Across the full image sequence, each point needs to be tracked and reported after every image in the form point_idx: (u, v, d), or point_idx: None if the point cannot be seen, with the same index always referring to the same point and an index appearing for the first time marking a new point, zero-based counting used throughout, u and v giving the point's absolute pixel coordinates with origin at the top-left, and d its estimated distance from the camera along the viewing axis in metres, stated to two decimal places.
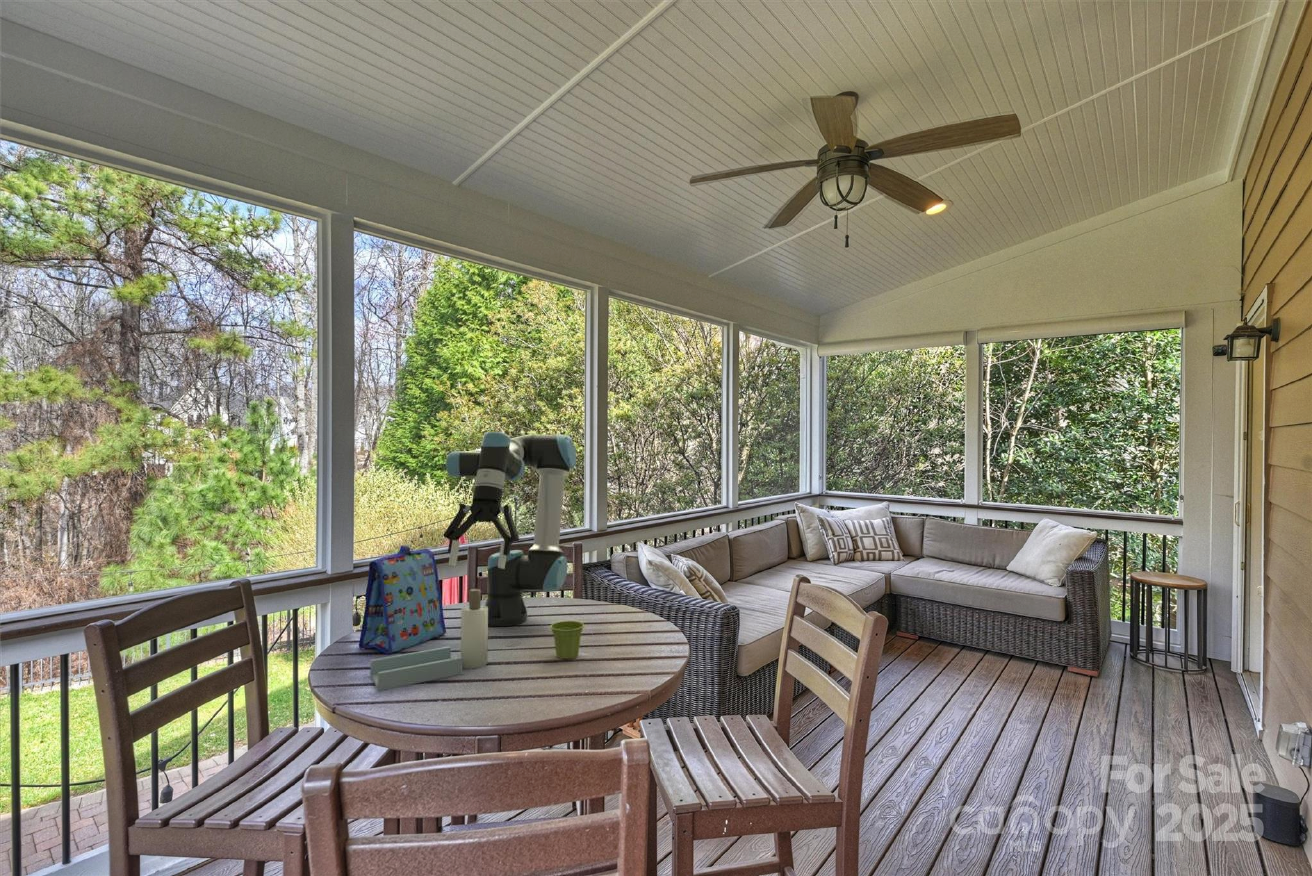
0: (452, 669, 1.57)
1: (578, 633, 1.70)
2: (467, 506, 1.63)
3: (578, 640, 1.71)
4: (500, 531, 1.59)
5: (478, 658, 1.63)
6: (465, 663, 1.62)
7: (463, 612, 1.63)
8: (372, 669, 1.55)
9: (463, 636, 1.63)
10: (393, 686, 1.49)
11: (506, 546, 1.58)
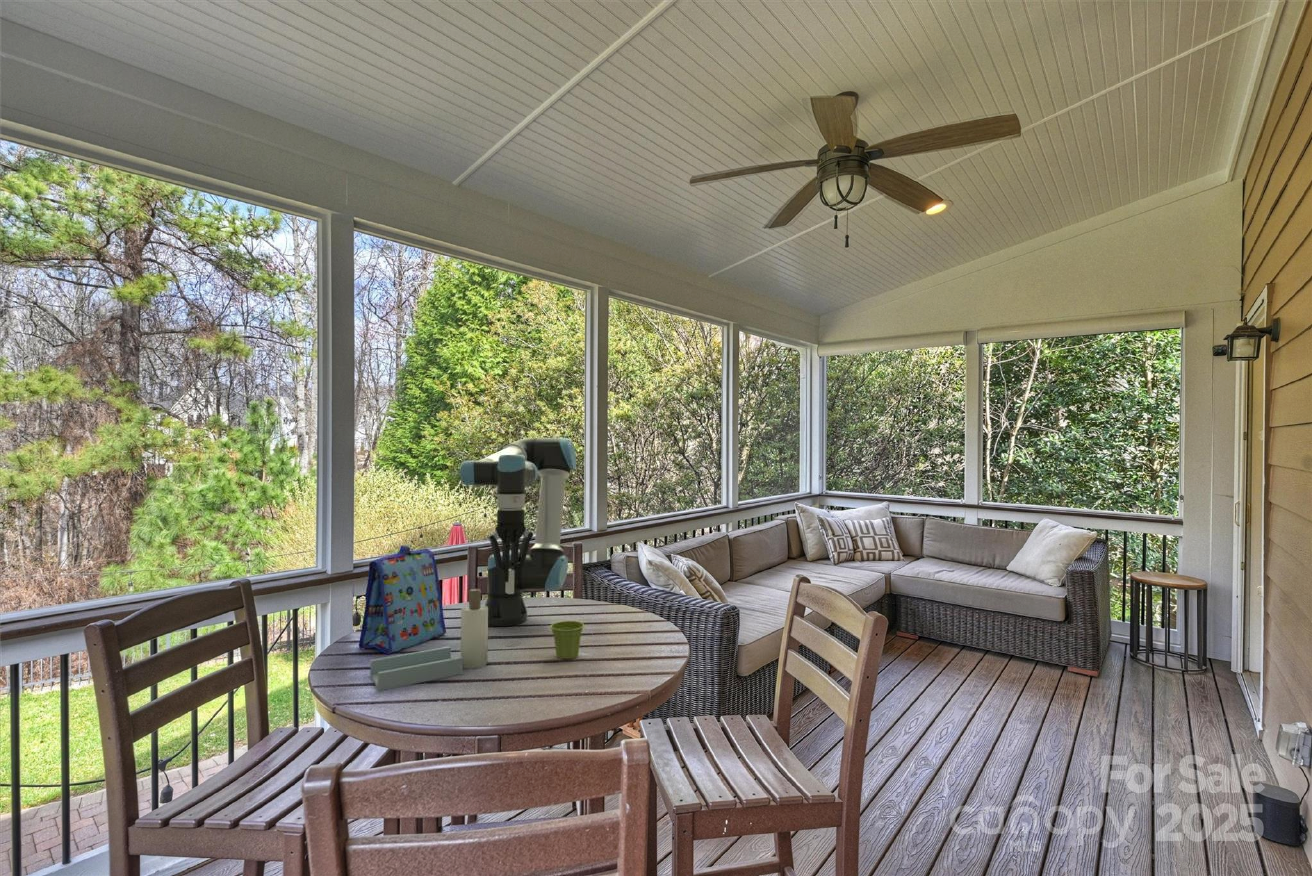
0: (452, 669, 1.57)
1: (578, 633, 1.70)
2: (494, 533, 1.69)
3: (578, 640, 1.71)
4: (515, 557, 1.71)
5: (478, 658, 1.63)
6: (465, 663, 1.62)
7: (463, 612, 1.63)
8: (372, 669, 1.55)
9: (463, 636, 1.63)
10: (393, 686, 1.49)
11: (515, 573, 1.71)
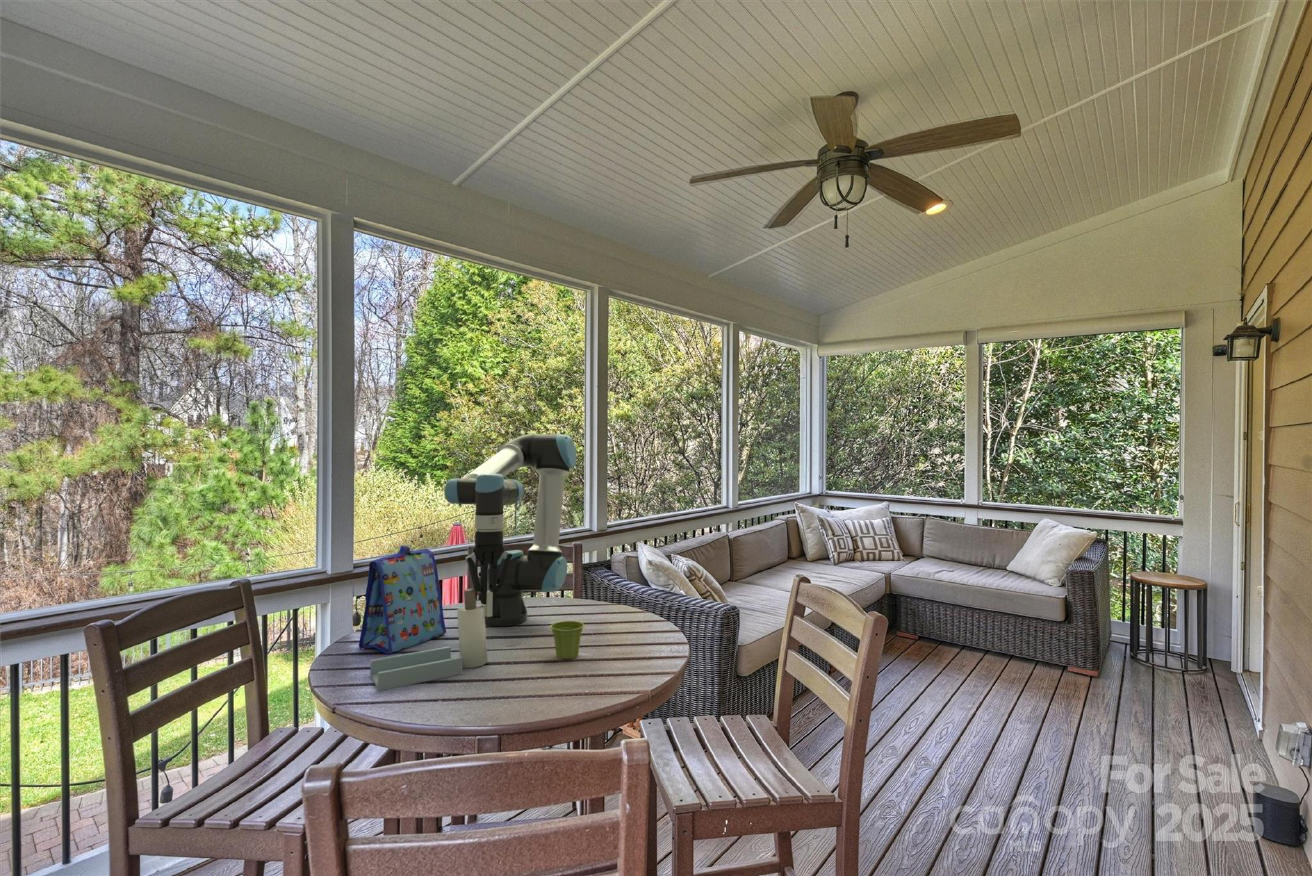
0: (452, 669, 1.57)
1: (578, 633, 1.70)
2: (472, 555, 1.65)
3: (578, 640, 1.71)
4: (493, 579, 1.67)
5: (477, 657, 1.63)
6: (465, 663, 1.62)
7: (459, 613, 1.62)
8: (372, 669, 1.55)
9: (460, 636, 1.63)
10: (393, 686, 1.49)
11: (493, 595, 1.68)
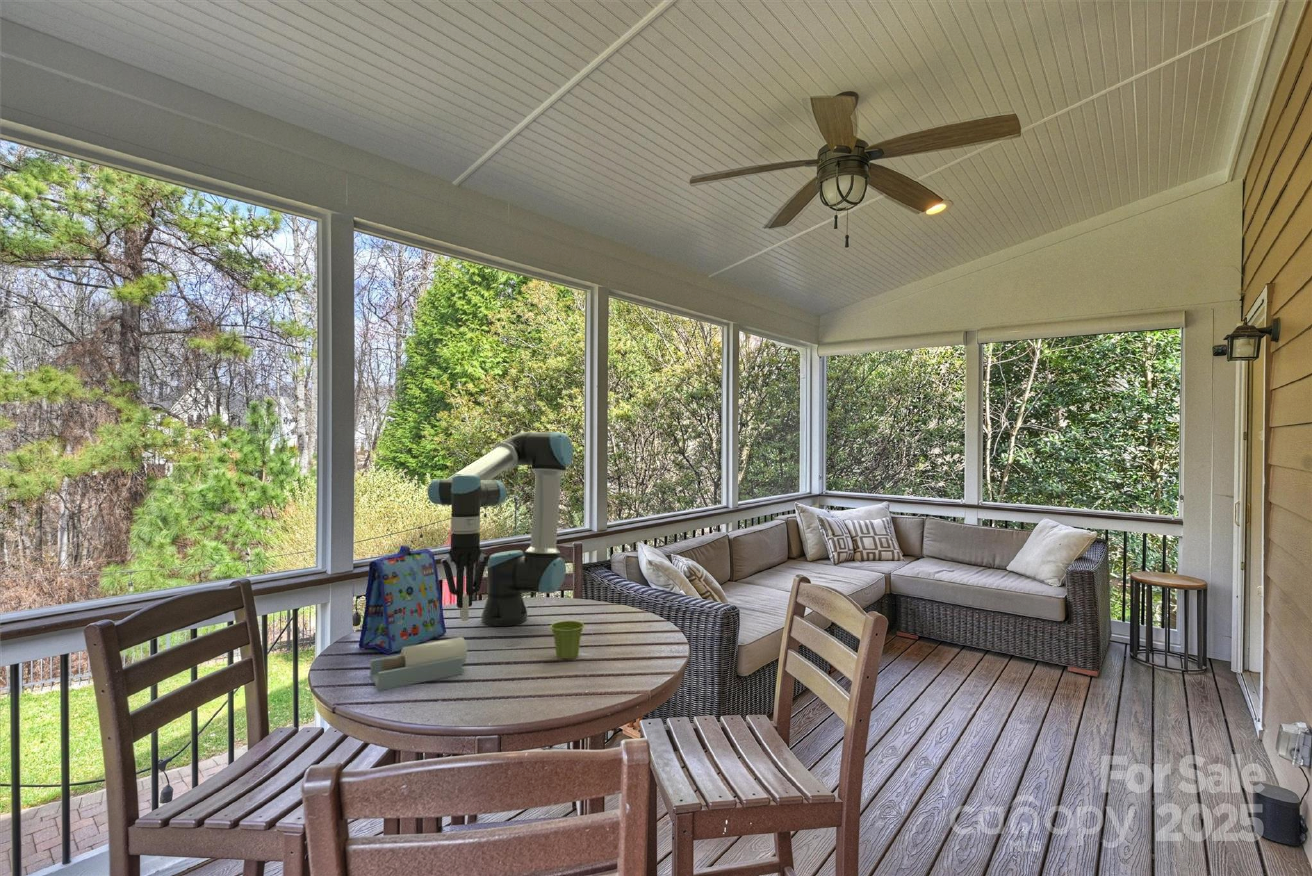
0: (452, 669, 1.57)
1: (578, 633, 1.70)
2: (447, 558, 1.61)
3: (578, 640, 1.71)
4: (470, 582, 1.64)
5: (457, 656, 1.59)
6: None
7: None
8: (372, 669, 1.55)
9: None
10: (393, 686, 1.49)
11: (470, 598, 1.64)
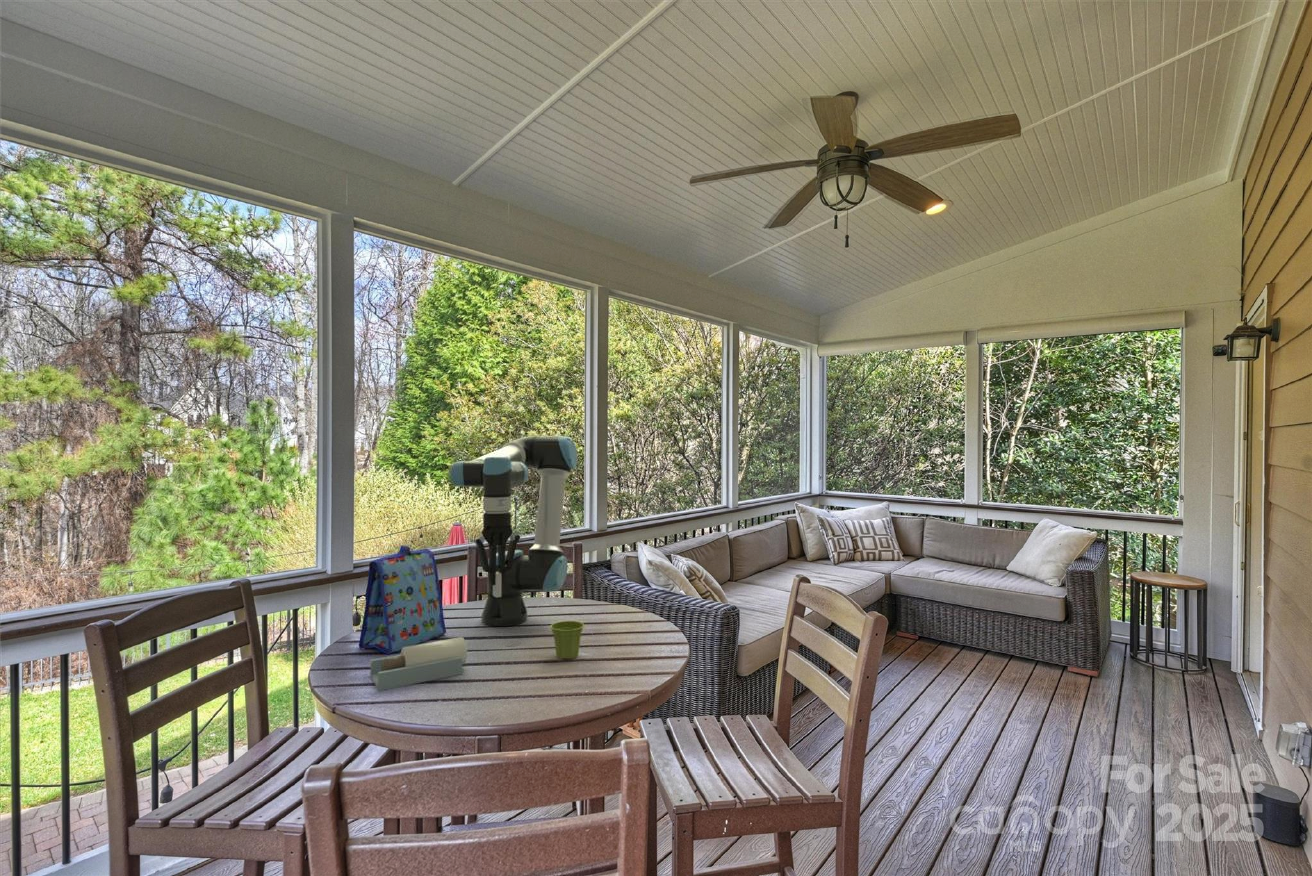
0: (452, 669, 1.57)
1: (578, 633, 1.70)
2: (481, 537, 1.67)
3: (578, 640, 1.71)
4: (502, 560, 1.69)
5: (457, 656, 1.59)
6: None
7: None
8: (372, 669, 1.55)
9: None
10: (393, 686, 1.49)
11: (502, 576, 1.70)
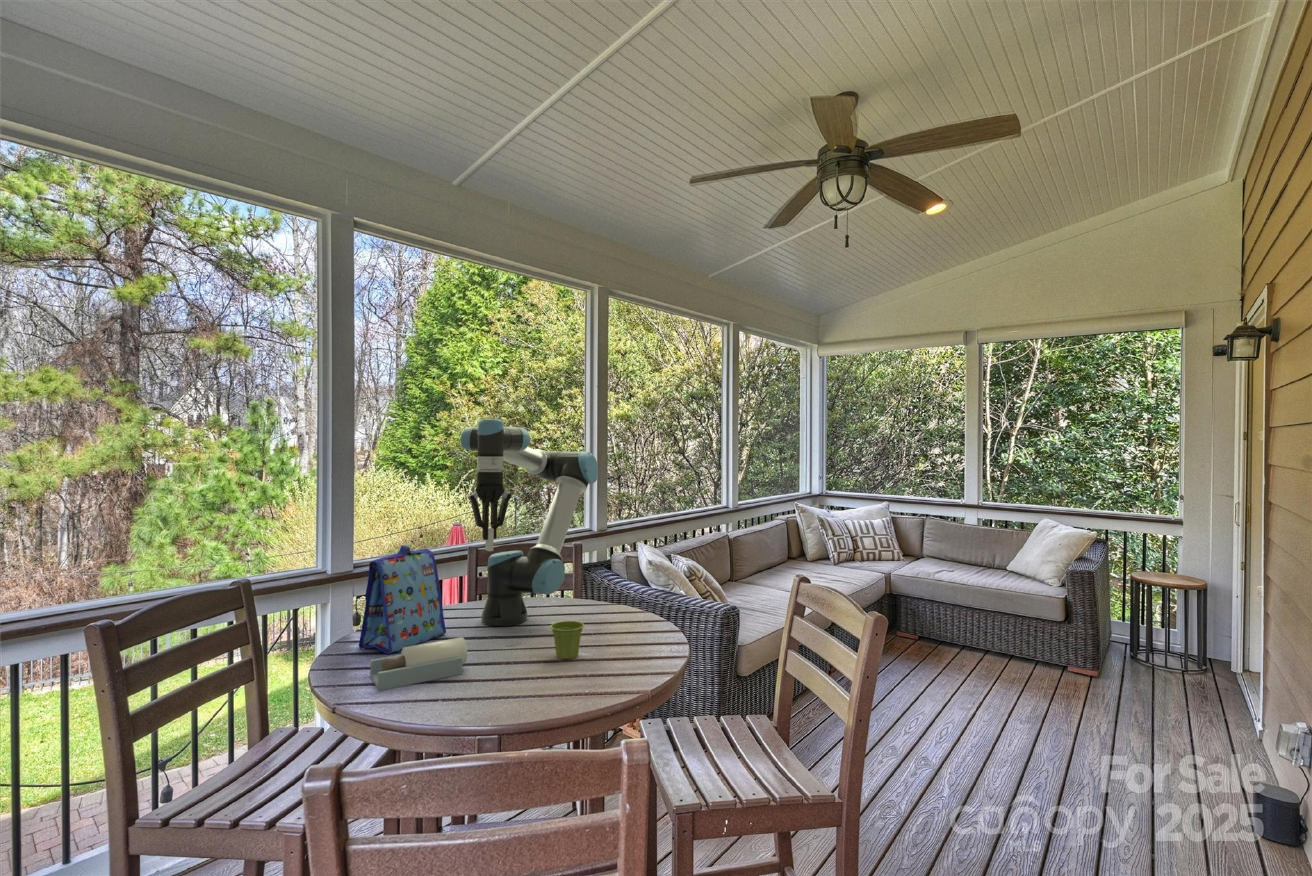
0: (452, 669, 1.57)
1: (578, 633, 1.70)
2: (474, 494, 1.78)
3: (578, 640, 1.71)
4: (494, 516, 1.80)
5: None
6: None
7: None
8: (372, 669, 1.55)
9: None
10: (393, 686, 1.49)
11: (494, 531, 1.81)
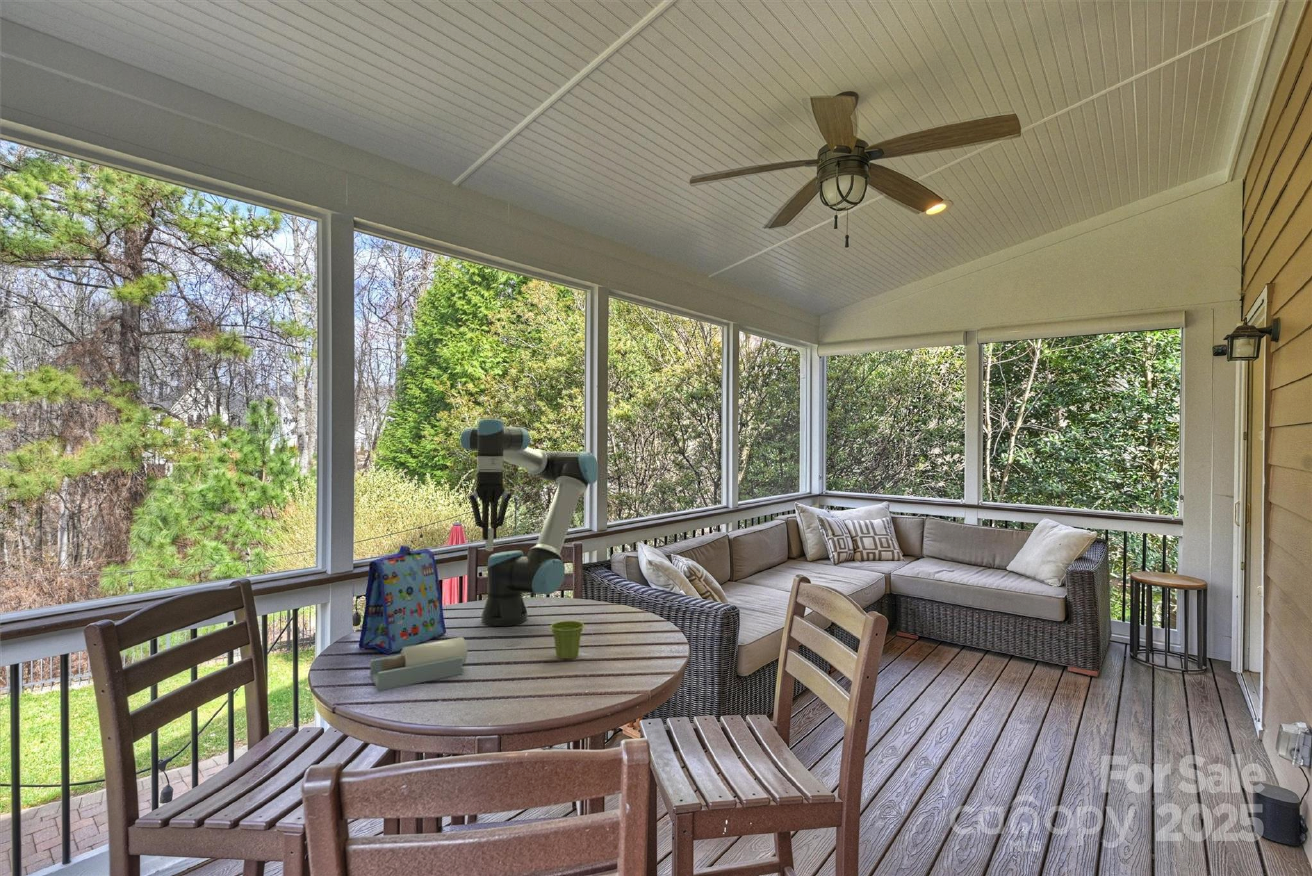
0: (452, 669, 1.57)
1: (578, 633, 1.70)
2: (474, 494, 1.78)
3: (578, 640, 1.71)
4: (494, 516, 1.80)
5: None
6: None
7: None
8: (372, 669, 1.55)
9: None
10: (393, 686, 1.49)
11: (494, 531, 1.81)
